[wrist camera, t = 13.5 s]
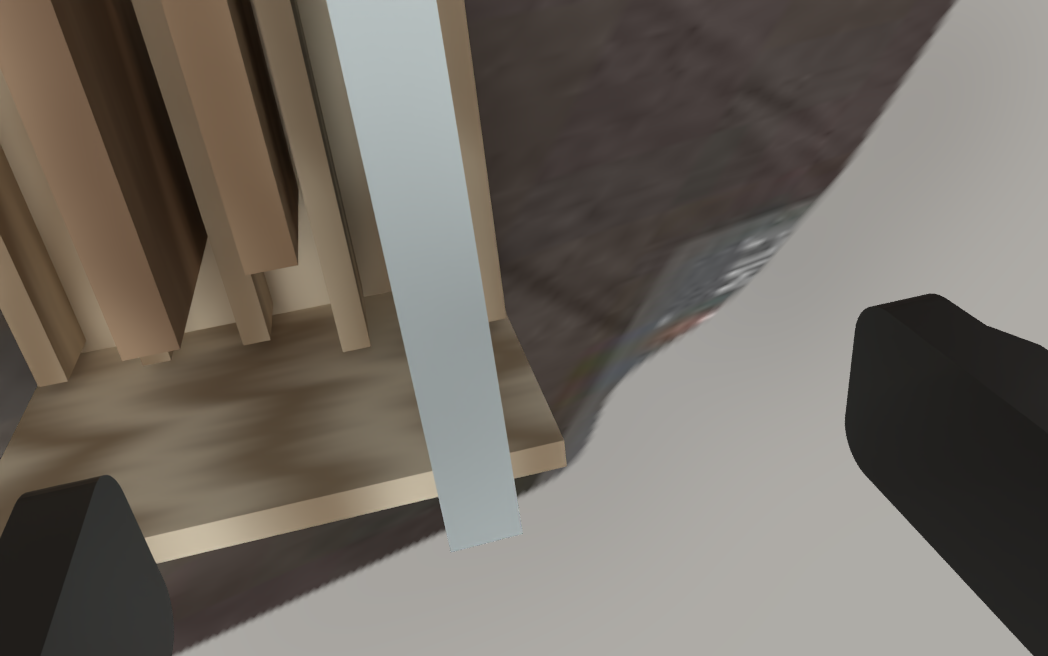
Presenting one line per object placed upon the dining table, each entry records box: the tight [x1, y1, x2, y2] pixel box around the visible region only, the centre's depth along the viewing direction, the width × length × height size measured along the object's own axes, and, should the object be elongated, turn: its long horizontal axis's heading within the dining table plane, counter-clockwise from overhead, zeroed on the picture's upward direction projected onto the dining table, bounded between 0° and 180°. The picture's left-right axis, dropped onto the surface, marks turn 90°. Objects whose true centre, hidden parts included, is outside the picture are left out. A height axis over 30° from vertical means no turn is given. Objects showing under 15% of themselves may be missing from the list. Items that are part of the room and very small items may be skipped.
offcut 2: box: [161, 0, 299, 275], centre depth 26 cm, size 2×10×7 cm, turn 6°
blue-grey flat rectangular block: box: [326, 0, 523, 552], centre depth 22 cm, size 2×16×18 cm, turn 7°
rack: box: [0, 0, 567, 564], centre depth 24 cm, size 18×22×14 cm
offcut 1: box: [0, 0, 208, 361], centre depth 25 cm, size 2×12×9 cm, turn 6°
